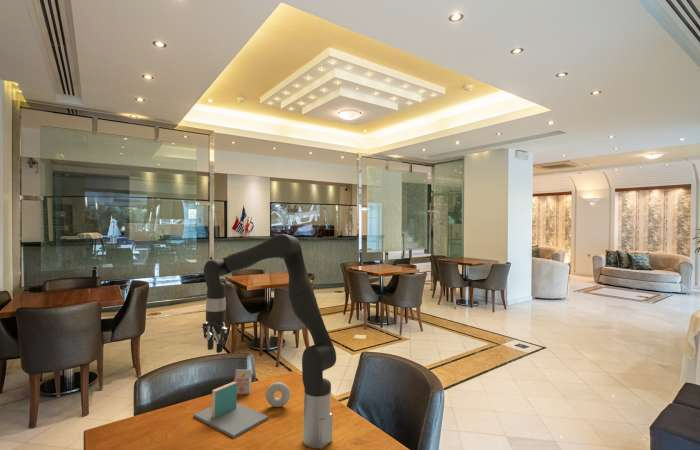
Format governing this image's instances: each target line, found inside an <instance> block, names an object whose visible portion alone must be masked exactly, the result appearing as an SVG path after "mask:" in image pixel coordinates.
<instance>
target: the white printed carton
mask: <svg viewBox="0 0 700 450" xmlns="http://www.w3.org/2000/svg"><path fill="white" fill-rule="evenodd" d="M251 371H252V370H251V369H234V378H233V382H236V383H237V395H250V393H251V392H252V372H251ZM250 391H251V392H250Z"/></svg>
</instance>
